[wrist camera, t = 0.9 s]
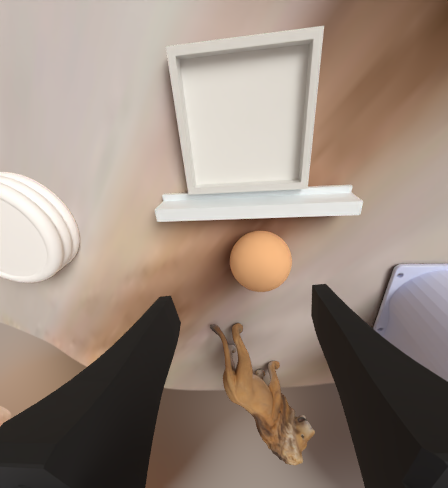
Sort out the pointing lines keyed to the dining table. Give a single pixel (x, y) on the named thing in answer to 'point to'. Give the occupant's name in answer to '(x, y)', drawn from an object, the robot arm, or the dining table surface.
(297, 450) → the lion figurine
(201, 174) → the tray
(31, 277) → the coaster
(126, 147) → the dining table surface
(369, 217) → the dining table surface
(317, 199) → the white picture ledge
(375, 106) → the dining table surface
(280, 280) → the ball
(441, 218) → the dining table surface
